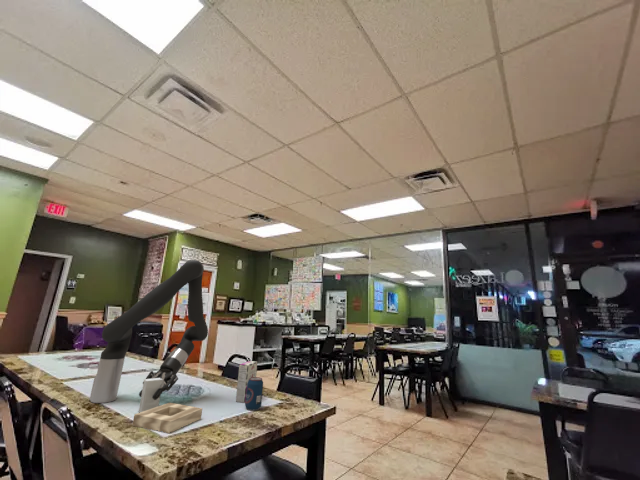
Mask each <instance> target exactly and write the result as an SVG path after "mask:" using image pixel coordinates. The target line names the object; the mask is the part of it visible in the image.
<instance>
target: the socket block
mask: <svg viewBox="0 0 640 480" xmlns="http://www.w3.org/2000/svg"><path fill="white" fill-rule="evenodd" d="M202 413H203V408H201V407H196V406H189V405H185V404H180V403H175V402H167V403H164V404H161V405H159V406H158V407H155V408H152V409H149V410H146V411H143V412H140V413H139V412H137V413H135V414H134V415H133V420H132V424H131V425H132V426H133V427H137V428H141V427H143V428H142V429H146V428H147V430H151V429H152V431H155V430H158V431H157V432H160V431H163V432H162V433H165V432H166V433H165V434H171V433H173V432H175V431H177V430H179V429H182V428H183V426H184V427H186V426H187V425H190V424H192V422H193V423H194V422H197V421H199V420H201V419H202ZM181 427H182V428H181ZM170 432H171V433H170Z"/></svg>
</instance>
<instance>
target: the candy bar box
mask: <svg viewBox="0 0 640 480" xmlns="http://www.w3.org/2000/svg"><path fill="white" fill-rule="evenodd" d="M257 371H258V361H255V360H254V361H252V360H249V361H246V362H243V363H240V364H239V365H238V372H237V373H238V374H237V375H238V377H237V387H236V394H235V395H236V396H235V403H242V404H245V401H246V392H247V383H248V381H249V378H251V377H257Z"/></svg>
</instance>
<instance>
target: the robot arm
mask: <svg viewBox="0 0 640 480" xmlns="http://www.w3.org/2000/svg"><path fill="white" fill-rule="evenodd" d="M204 269H205V268H204V264H203V263H202V262H201V261H199V260H196V259H189V260H187V261H186V262H184V263H183V264H182V266H181V267H180V268H179V269H178V270H176V272H174V273H173V274H172V275H171V276H170V277H169V278H167V279H166V280H164V281H162V282H161V283H160V284H158V285H157V286H155V287H154V288H153V289H152V290H150V291H149V292H148V293H146V294H145V295H144V296H143V297H141V299H139V300H138V301H137V302H136V303H134V305H133V306H131V307H130V308H129V309H128V310H126V311H125V312H124V313H122V314H121V315H119V316H118V317H116V318H115V319H113V320H112V321H110V322H108V324H107V325H105V326H104V328H103V330H102V333H101V338H102V340H103V341H105V342H107V344H106V347H105V348H104V349H103V350H102V352H101V354H100V357H99V362H98V366H97V372H96V375H95V376H94V377H93V382H92V387H91V391H90V395H89V401H90V402H91V403H95V404H102V403H103V404H105V403H110V402H113V401H116V400H117V398H118V393H119V387H120V383H121V379H122V373H123V368H124V362H125V360H126V359H125V358H126V354H127V352H128V350H129V348H130V344H131V340H132V334H133V327H134V326H135V325H136V326H137V324H138V323H140V322H141V321H143V320H144V319H146V318H148V317H151V316H152V315H153V314H155V313H156V312H158V311H159V310H161V309H162V308H163V307H164V306H166V305H167V304H168V303H169V302H170V301H171V300H172V299H173V298H174V297H175V296H176V295H177V294H178V292H179V291H180V290H181V289H183V287H185V286H186V285H188V295H187V319H188V321H189V322H191V323H193V324H194V325H191V326H189V327H188V328H186V329H185V331H184V333H183V335H182V338H181V339H180V341H179V343H178V344H177V346H176V347H175V348H174V349H173V350H172V352H170V353H169V355H168V356H167V357H166V358H165V359H164V361H163V362H162V363H161V364H160V366H159V367H160V368H159V369H158V371H156V372H154V371H153V370H151V371H150V372H149V373H148V374H147V376H146V378H145V379H152V378H161V379H163V381H162V384H161V385H160V388H158V390H157V391H156V392H155V394H154V395H153V396H152V398H153V399H154V400H157V399H158V398H159V396H160V397H161V395H162V394H163V392H169V391H170V390H171V388H172V387H173V386H175V384H176V383H177V381H178V380H179V377H178V375H177V374H178V373H179V371H180V370H181V368H182V367H183V366H184V364H185V363H186V361H187V359H188V358H189V356H190V355H191V354H192V353H193V351H194V349H195V344H194V343H193V342H203V341H205V340H206V339H207V337H208V334H209V329H208V325H207V323H206V320H205V316H204V300H203V285H202V284H203V275H204ZM143 383H144V381H143V382H142V384H143ZM141 395H142V389H141V390H140V392H139V393H138V396H139V397H140V398H141Z"/></svg>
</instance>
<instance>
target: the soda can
mask: <svg viewBox="0 0 640 480" xmlns="http://www.w3.org/2000/svg"><path fill="white" fill-rule="evenodd" d="M263 390H264V381H263V377H260V376H259V377H258V376H256V377H251V378H249V381H248V383H247V392H246V401H245V403H244V406H245V408H246V410H247V411H258V410H260V408H261V407H262V404H263V403H262V402H263V401H262V400H263V392H264V391H263Z"/></svg>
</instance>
